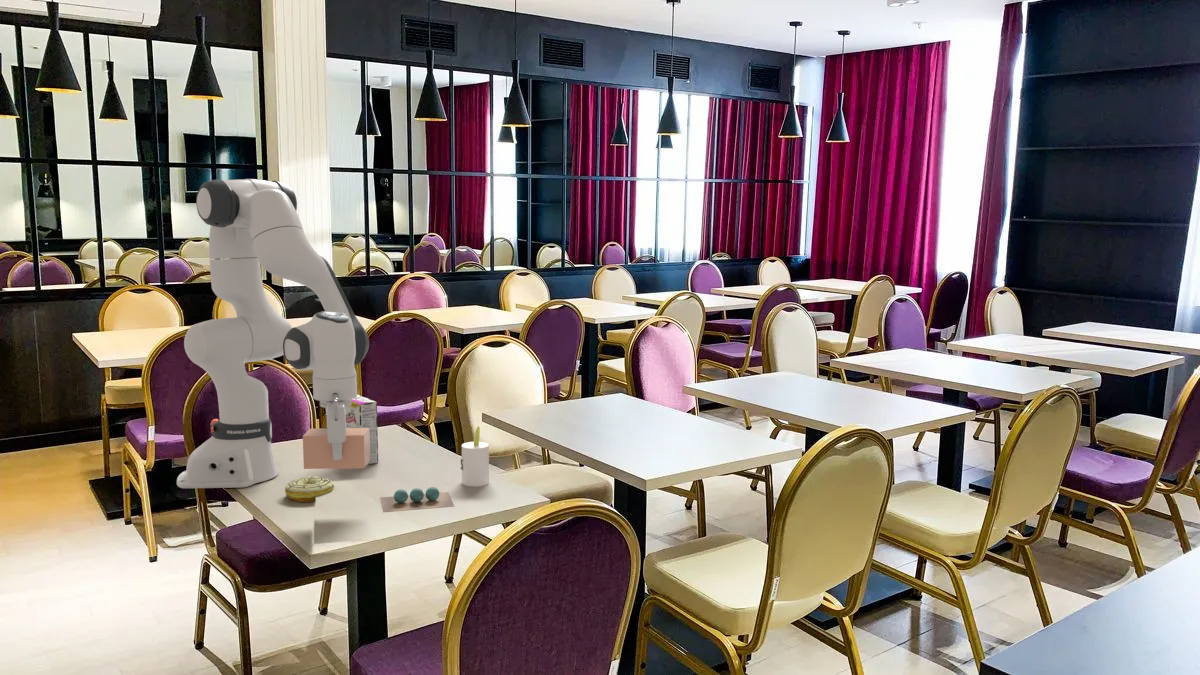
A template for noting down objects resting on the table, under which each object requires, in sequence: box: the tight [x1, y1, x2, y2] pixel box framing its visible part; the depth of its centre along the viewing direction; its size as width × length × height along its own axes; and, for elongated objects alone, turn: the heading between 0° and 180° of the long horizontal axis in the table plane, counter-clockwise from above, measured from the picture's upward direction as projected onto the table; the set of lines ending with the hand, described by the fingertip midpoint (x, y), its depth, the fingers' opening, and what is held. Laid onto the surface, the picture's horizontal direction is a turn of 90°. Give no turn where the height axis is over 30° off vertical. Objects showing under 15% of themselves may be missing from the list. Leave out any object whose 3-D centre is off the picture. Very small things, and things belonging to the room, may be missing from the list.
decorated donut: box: [284, 476, 335, 503], centre depth 202 cm, size 10×11×4 cm
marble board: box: [379, 486, 455, 513], centre depth 194 cm, size 15×10×4 cm, turn 107°
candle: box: [460, 426, 490, 487], centre depth 208 cm, size 6×6×15 cm
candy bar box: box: [345, 394, 379, 466], centre depth 230 cm, size 11×5×16 cm, turn 40°
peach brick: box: [302, 427, 370, 470], centre depth 188 cm, size 12×7×7 cm, turn 95°
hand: (337, 453), depth 188 cm, fingers closed on peach brick, 7 cm apart
